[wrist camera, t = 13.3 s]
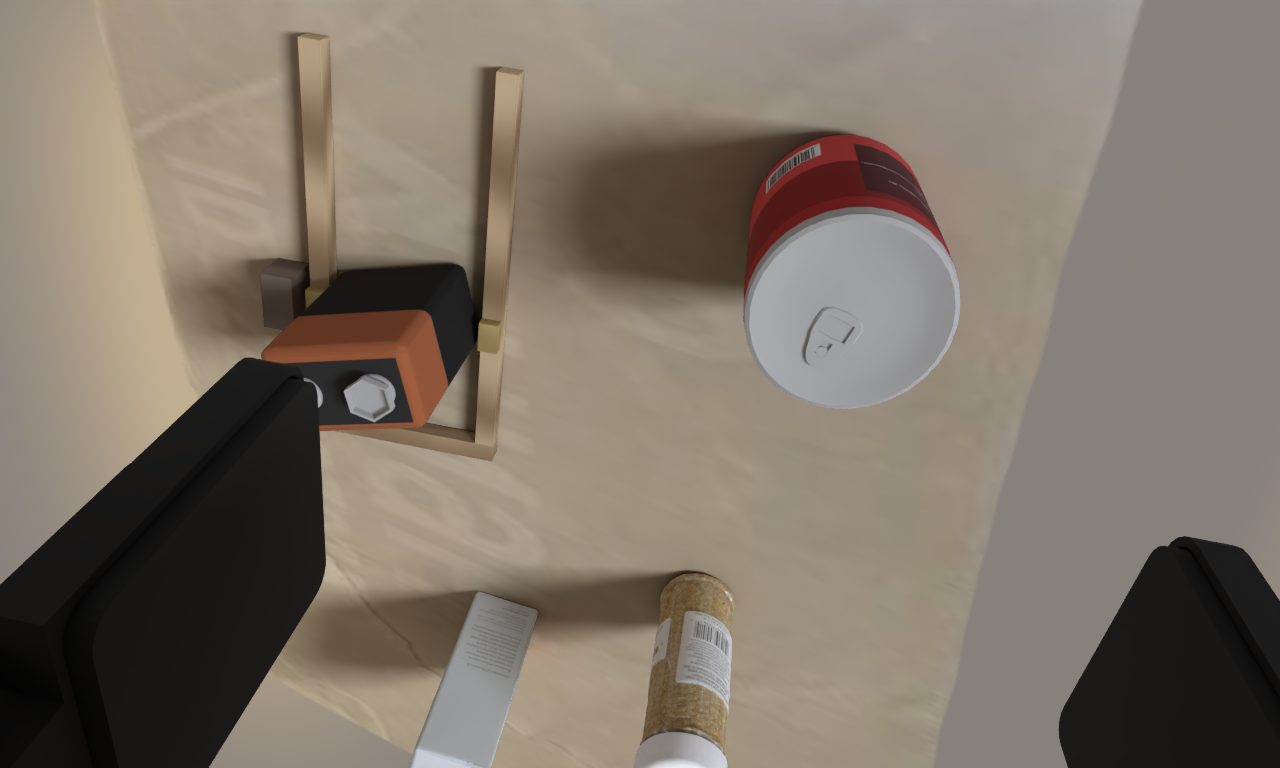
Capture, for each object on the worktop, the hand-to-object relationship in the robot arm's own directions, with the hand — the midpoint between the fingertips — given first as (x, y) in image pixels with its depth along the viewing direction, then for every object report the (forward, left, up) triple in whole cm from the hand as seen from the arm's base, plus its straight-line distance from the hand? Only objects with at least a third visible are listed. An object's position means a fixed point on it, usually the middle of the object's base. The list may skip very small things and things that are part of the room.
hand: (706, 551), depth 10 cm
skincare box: (+38, -9, -34) cm, 51 cm away
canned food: (+7, +5, -34) cm, 35 cm away
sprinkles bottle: (+32, +3, -34) cm, 46 cm away
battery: (+16, -15, -34) cm, 40 cm away
